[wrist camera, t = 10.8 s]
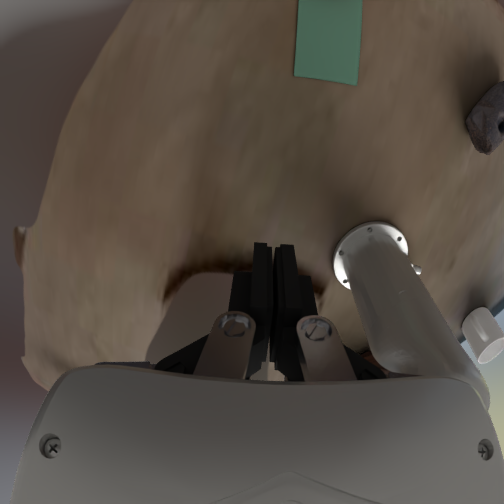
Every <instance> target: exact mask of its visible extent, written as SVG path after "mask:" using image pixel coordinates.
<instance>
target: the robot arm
mask: <svg viewBox="0 0 504 504" xmlns="http://www.w3.org/2000/svg"><path fill="white" fill-rule="evenodd" d="M333 269H334V272H335V275H336V277H337V279H338V281H339V282H340V283H341V284H342V285H343V286H345V287H346V288H348V289H351V291H352V294H353V297H354V300H355V303H356V306H357V309H358V312H359V315H360V318H361V321H362V324H363V328H364V331H365V334H366V337H367V340H368V343H369V347H370V350H371V352H372V355H373V356H374V358H375V359H376V361H377V362H378V363H379V364H380V365H381V366H383V367H384V368H386V369H387V370H389V371H391V372H389V373H388V374H384V372H383V371H382V370H381V369H379V368H378V367H377V366H375V365H374V364H372V363H371V362H369V361H368V360H366V359H364V358H363V357H361V356H360V355H358V354H357V353H355V352H354V351H352V350H351V349H349V348H348V347H346V346H345V345H343V344H342V341H341V339H340V337H339V334H338V332H337V330H336V327H335V326H334V324H333V323H332V322H331V321H330V320H328V319H326V318H324V317H322V316H318V313H317V308H316V302H315V297H314V292H313V287H312V282H311V277H310V276H305V275H298V270H297V264H296V257H295V251H294V245H286V244H281V245H280V247H276V248H275V255H274V264H273V270H272V247H267V243H257V242H254V255H253V269H252V272H243V271H234V276H233V282H232V289H231V296H230V302H229V309H228V312H225V313H223V314H221V315H219V316H218V317H217V318H216V320H215V321H214V324H213V327H212V329H211V331H210V333H209V334H208V335H206V336H204V337H202V338H201V339H199V340H197V341H195V342H193V343H192V344H190V345H188V346H186V347H184V348H182V349H181V350H179V351H177V352H175V353H173V354H171V355H169V356H167V357H166V358H164V359H162V360H161V361H159V362H158V363H157V364H150V362H149V361H144V362H100V363H96V364H95V365H90V366H82V367H78V368H75V369H71V370H69V371H67V372H65V373H64V374H63V375H61V376H60V377H59V378H58V379H57V381H56V382H55V383H54V384H53V386H52V387H51V389H50V391H49V392H48V394H47V396H46V397H45V399H44V401H43V403H42V405H41V407H40V409H39V411H38V414H37V416H36V418H35V420H34V423H33V425H32V428H31V430H30V433H29V436H28V439H27V441H26V444H25V447H24V450H23V453H22V456H21V460H20V463H19V466H18V469H17V473H16V477H15V482H14V486H13V490H12V495H11V500H10V504H504V460H503V456H502V452H501V448H500V445H499V441H498V438H497V435H496V432H495V429H494V426H493V423H492V421H491V418H490V415H489V413H488V409H489V405H490V394H489V389H488V387H487V384H486V382H485V380H484V378H483V376H482V374H481V373H480V371H479V370H478V368H477V367H476V365H475V364H474V363H473V361H472V360H471V358H470V357H469V356H468V354H467V353H466V352H465V350H464V349H463V348H462V346H461V345H460V343H459V342H458V340H457V339H456V337H455V336H454V334H453V333H452V331H451V329H450V327H449V326H448V324H447V322H446V321H445V319H444V317H443V316H442V314H441V312H440V311H439V309H438V307H437V305H436V304H435V302H434V301H433V299H432V297H431V296H430V294H429V292H428V291H427V289H426V287H425V286H424V284H423V282H422V281H421V279H420V278H419V276H418V275H417V274H420V273H421V267H420V266H417V265H413V264H412V263H411V261H410V260H409V258H408V246H407V242H406V239H405V237H404V236H403V234H402V233H401V232H400V231H399V230H398V229H397V228H396V227H395V226H393V225H391V224H389V223H386V222H379V221H374V222H368V223H364V224H361V225H359V226H357V227H355V228H353V229H352V230H350V231H349V232H348V233H347V234H346V235H345V236H344V237H343V238H342V239H341V240H340V242H339V243H338V245H337V247H336V249H335V251H334V255H333ZM269 336H270V362H274V363H275V370H279V371H280V372H281V373H282V374H283V375H285V376H284V381H260V380H251V375H252V374H254V373H256V372H257V371H258V370H260V369H261V363H262V362H265V361H266V356H267V349H268V343H269Z"/></svg>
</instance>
